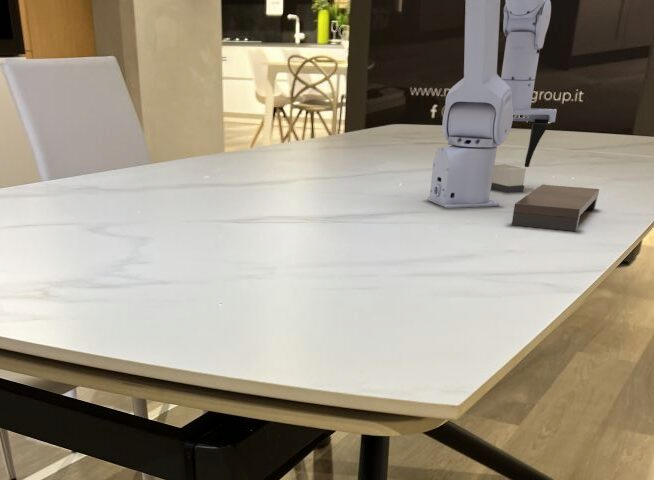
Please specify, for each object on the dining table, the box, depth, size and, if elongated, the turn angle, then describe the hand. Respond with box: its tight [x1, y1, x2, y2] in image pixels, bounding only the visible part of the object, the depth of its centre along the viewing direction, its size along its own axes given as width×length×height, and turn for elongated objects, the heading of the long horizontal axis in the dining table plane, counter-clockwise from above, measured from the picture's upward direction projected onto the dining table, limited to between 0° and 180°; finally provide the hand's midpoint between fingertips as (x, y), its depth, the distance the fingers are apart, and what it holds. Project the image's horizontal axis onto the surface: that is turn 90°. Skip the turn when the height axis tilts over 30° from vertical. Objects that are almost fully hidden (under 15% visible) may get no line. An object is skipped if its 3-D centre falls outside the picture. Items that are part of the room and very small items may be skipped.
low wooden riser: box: [511, 184, 600, 232], centre depth 114 cm, size 20×9×3 cm, turn 152°
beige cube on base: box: [491, 164, 527, 193], centre depth 136 cm, size 8×4×4 cm, turn 24°
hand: (504, 165), depth 135 cm, fingers open, 7 cm apart
